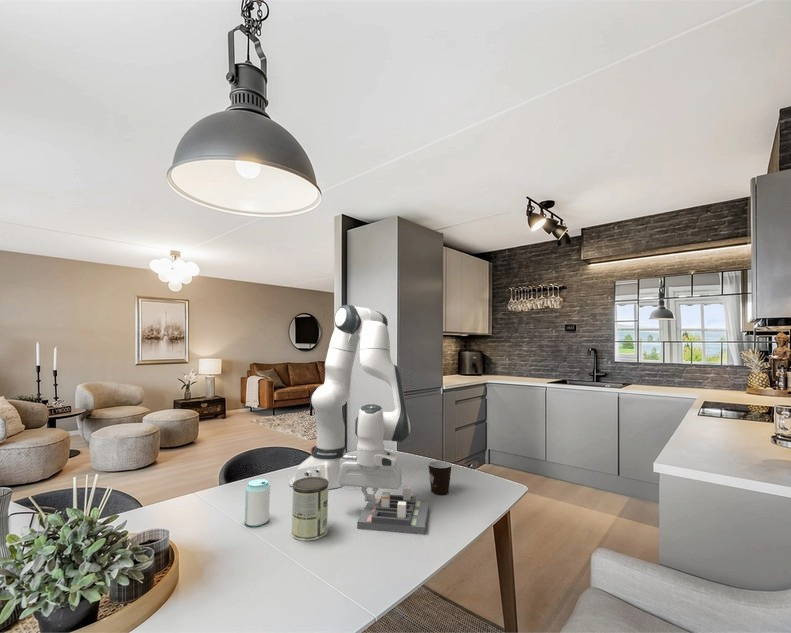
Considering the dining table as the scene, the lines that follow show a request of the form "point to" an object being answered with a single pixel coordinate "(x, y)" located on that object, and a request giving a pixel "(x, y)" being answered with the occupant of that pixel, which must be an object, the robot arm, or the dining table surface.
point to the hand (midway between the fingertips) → (369, 500)
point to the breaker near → (401, 509)
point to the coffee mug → (439, 477)
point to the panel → (394, 516)
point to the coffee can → (310, 508)
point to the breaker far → (407, 493)
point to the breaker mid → (385, 499)
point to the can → (257, 502)
